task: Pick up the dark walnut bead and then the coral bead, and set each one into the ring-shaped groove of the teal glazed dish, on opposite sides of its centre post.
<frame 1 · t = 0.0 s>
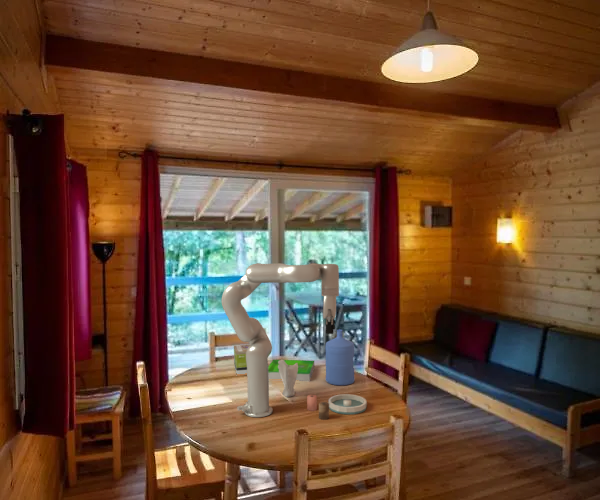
hand: (330, 331, 198), 37 cm above the table, tool pointing down, fingers open, 9 cm apart
walnut bead: (323, 417, 196), on the table
shell sculpture: (288, 395, 224), on the table
coral bead: (312, 409, 206), on the table
tray: (290, 374, 260), on the table
groove dish: (347, 407, 208), on the table
tea box: (243, 372, 263), on the table
water jug: (340, 381, 246), on the table
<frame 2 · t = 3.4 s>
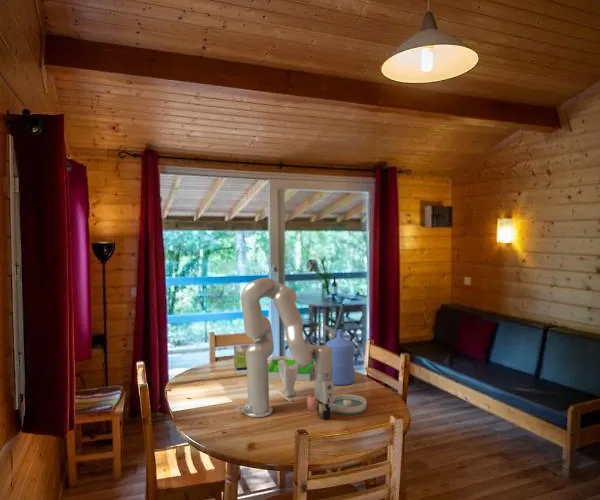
hand: (323, 416, 196), 1 cm above the table, tool pointing down, fingers closed on walnut bead, 4 cm apart
walnut bead: (323, 417, 196), on the table, touching gripper
everything else where it was.
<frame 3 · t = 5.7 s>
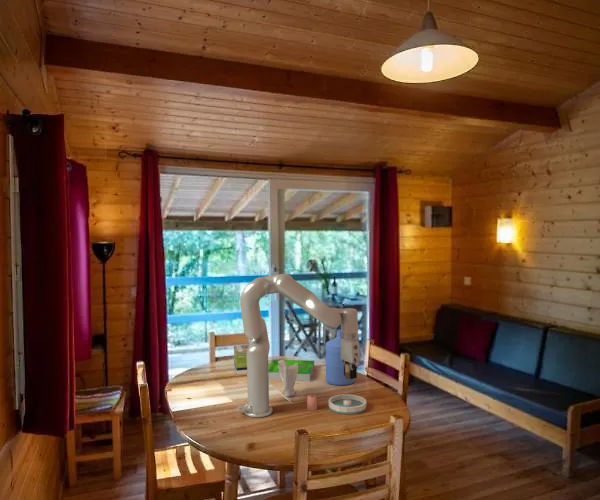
hand: (350, 376, 203), 16 cm above the table, tool pointing down, fingers closed on walnut bead, 4 cm apart
walnut bead: (350, 377, 203), point 15 cm above the table, touching gripper
everything else where it was.
when the fingers open (4 cm above the table, at t = 8.4 s): walnut bead drops 2 cm, resting on groove dish.
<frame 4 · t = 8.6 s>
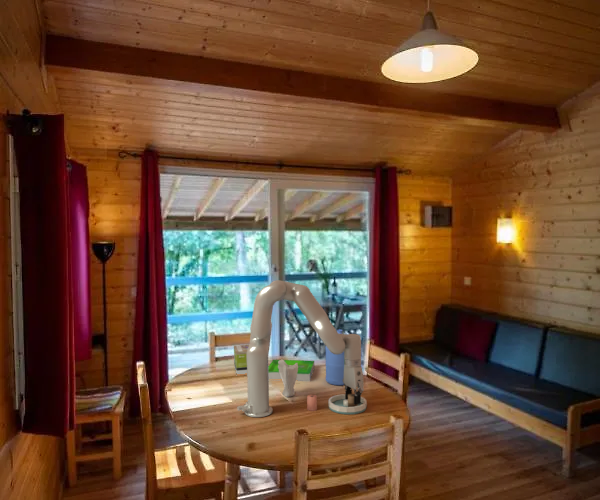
hand: (352, 401, 204), 4 cm above the table, tool pointing down, fingers open, 6 cm apart
walnut bead: (352, 408, 204), point 1 cm above the table, touching groove dish
everything else where it was.
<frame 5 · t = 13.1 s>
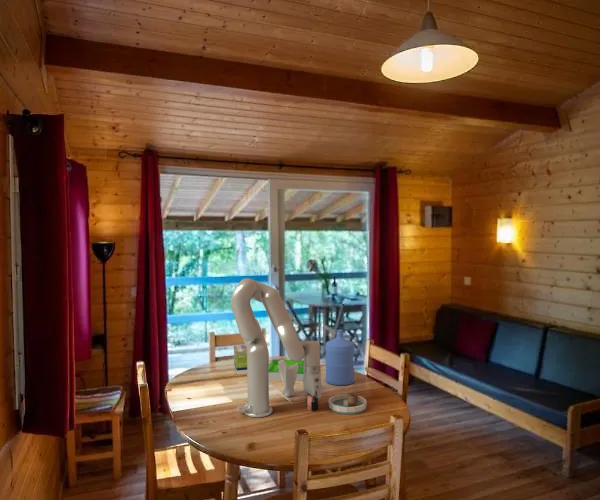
hand: (312, 407, 206), 1 cm above the table, tool pointing down, fingers closed on coral bead, 4 cm apart
coral bead: (312, 409, 206), on the table, touching gripper
everything else where it was.
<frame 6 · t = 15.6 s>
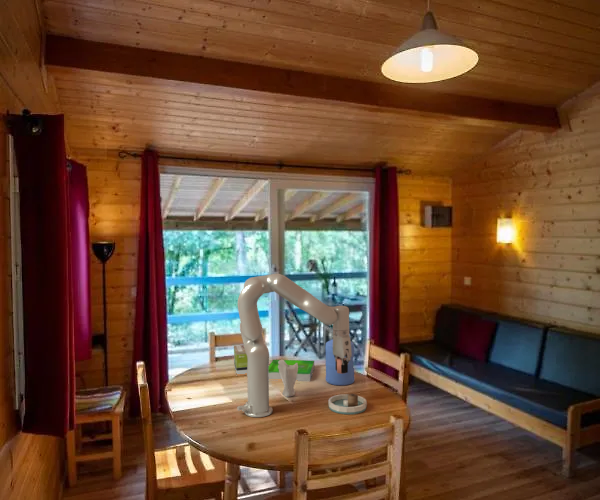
hand: (341, 371, 212), 16 cm above the table, tool pointing down, fingers closed on coral bead, 4 cm apart
coral bead: (341, 372, 212), point 15 cm above the table, touching gripper
everything else where it was.
when the fingers open (4 cm above the table, at t = 18.1 s): coral bead drops 2 cm, resting on groove dish.
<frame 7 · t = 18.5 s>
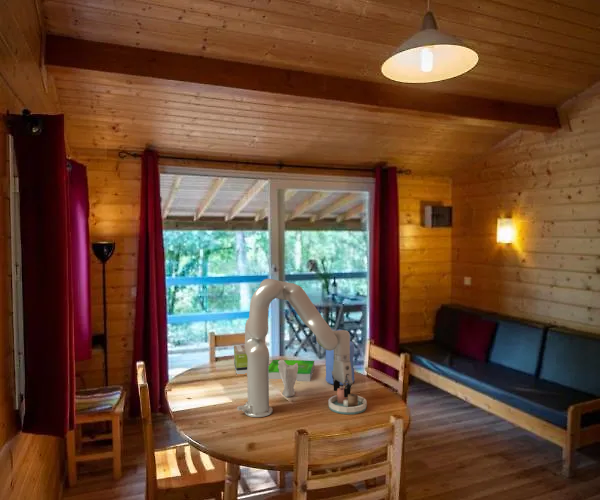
hand: (341, 393, 212), 5 cm above the table, tool pointing down, fingers open, 9 cm apart
coral bead: (342, 401, 212), point 1 cm above the table, touching groove dish
everything else where it was.
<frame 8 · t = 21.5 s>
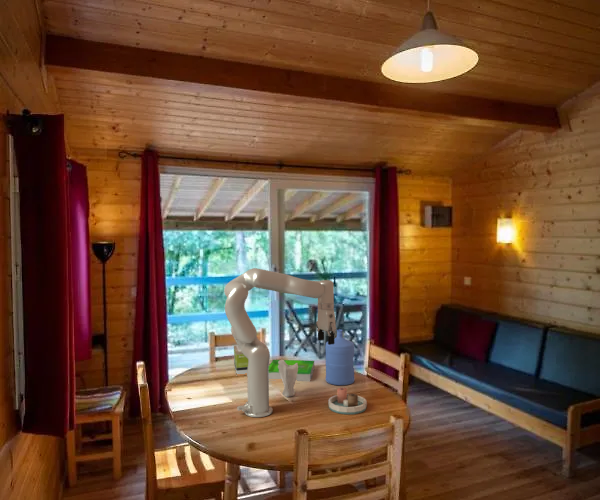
hand: (326, 342, 216), 28 cm above the table, tool pointing down, fingers open, 9 cm apart
nothing on the table moved.
at the end: walnut bead 0.2 cm from the target spot on the groove dish, point 1.0 cm above the groove dish's base; coral bead 0.2 cm from the target spot on the groove dish, point 1.0 cm above the groove dish's base; coral bead tilted 0° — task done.
